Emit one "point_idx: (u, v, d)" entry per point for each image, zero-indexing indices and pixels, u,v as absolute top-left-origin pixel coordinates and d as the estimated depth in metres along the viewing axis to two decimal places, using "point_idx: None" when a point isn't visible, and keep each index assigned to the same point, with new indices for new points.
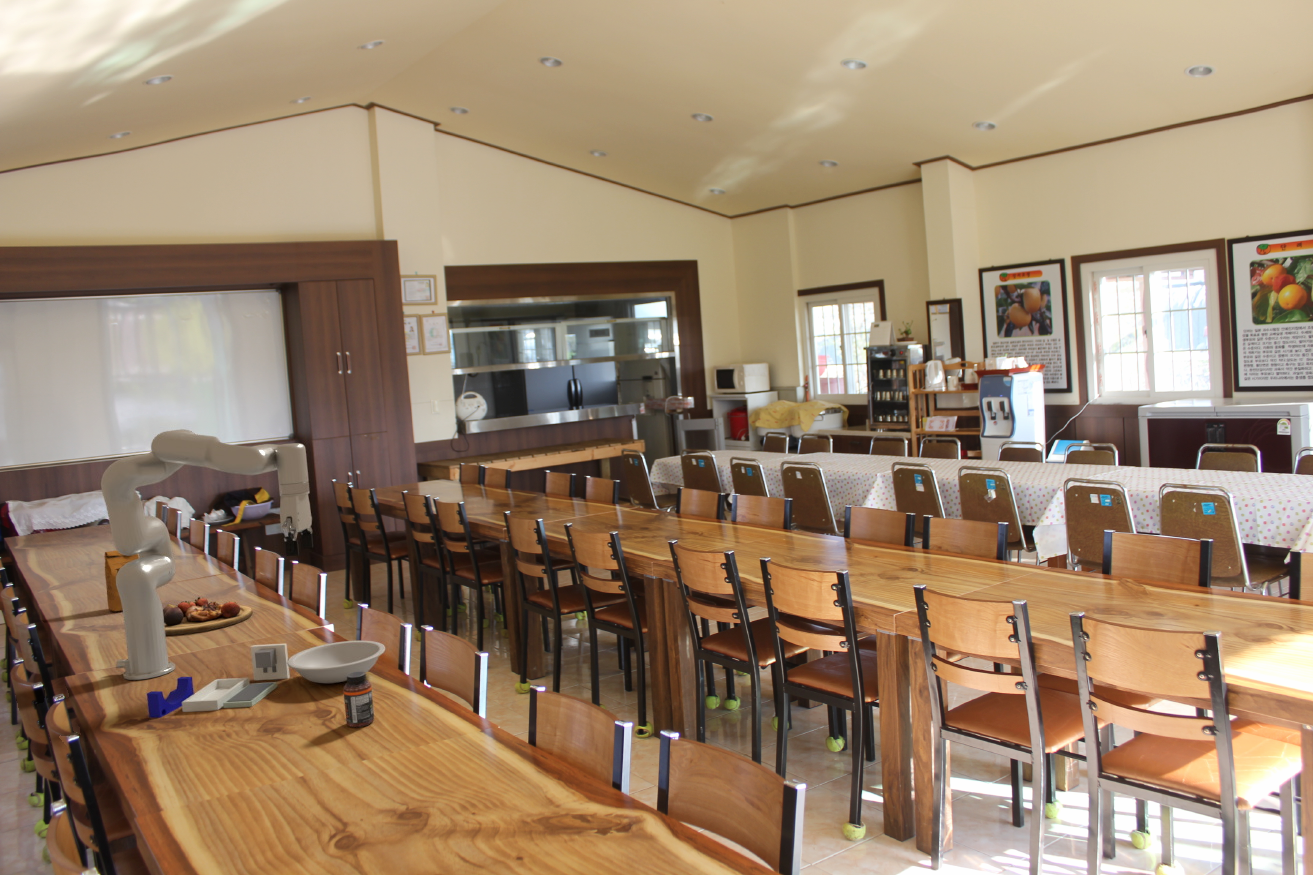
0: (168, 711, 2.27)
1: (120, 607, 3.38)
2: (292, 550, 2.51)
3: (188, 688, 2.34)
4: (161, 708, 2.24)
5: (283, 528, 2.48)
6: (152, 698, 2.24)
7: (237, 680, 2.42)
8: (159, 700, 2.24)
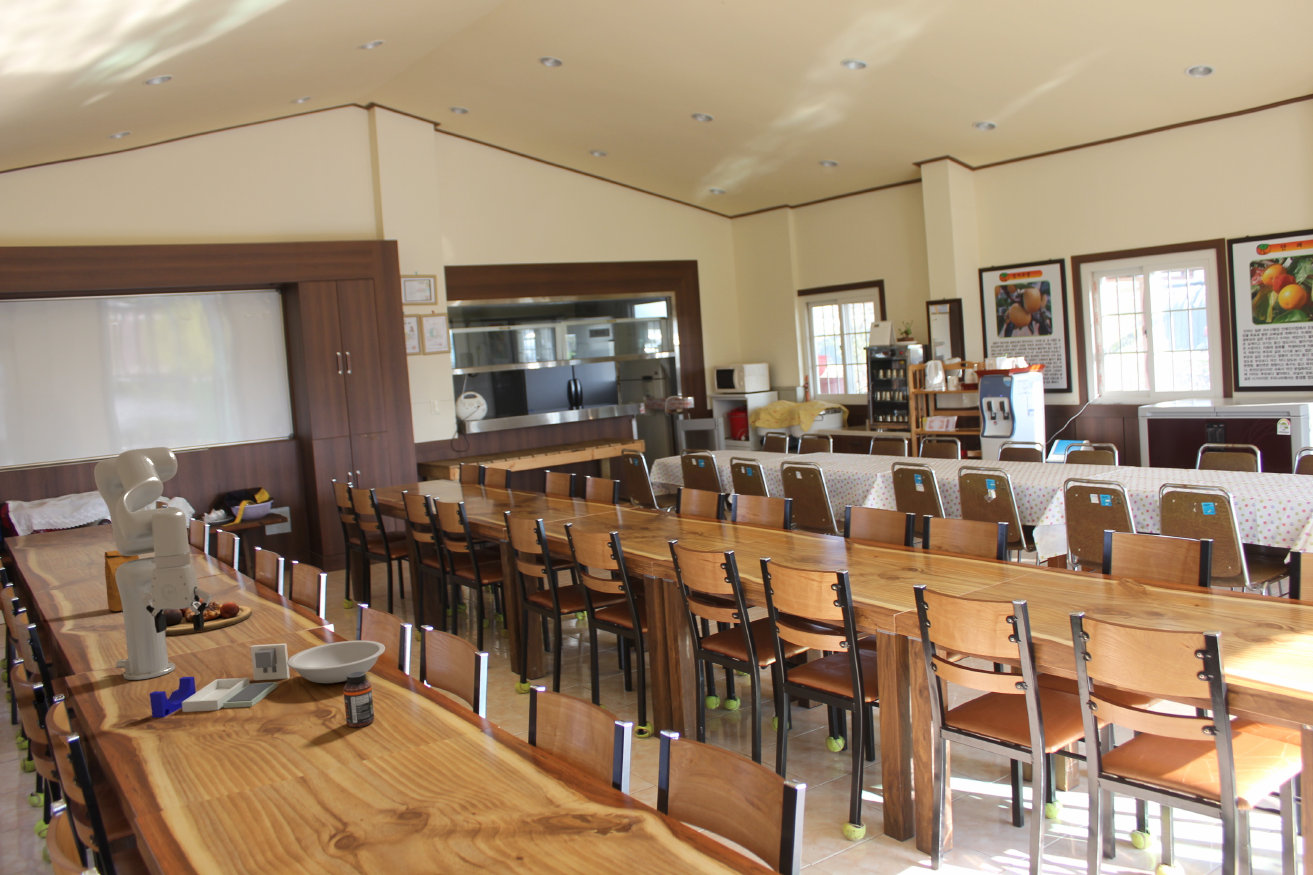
0: (171, 711, 2.26)
1: (120, 607, 3.38)
2: (203, 622, 2.32)
3: (190, 688, 2.34)
4: (164, 708, 2.24)
5: (209, 597, 2.30)
6: (155, 698, 2.24)
7: (237, 680, 2.42)
8: (162, 700, 2.24)
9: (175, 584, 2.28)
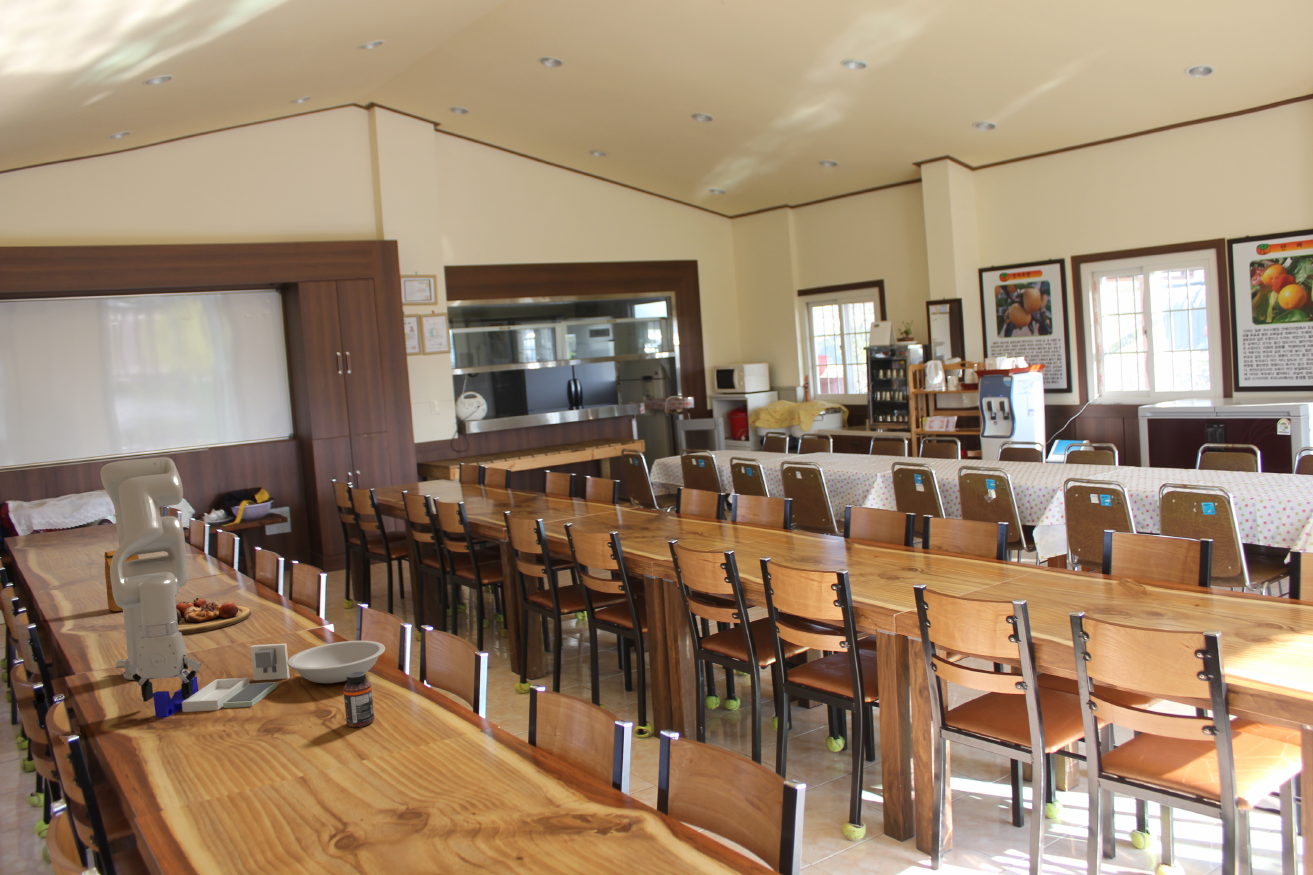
0: (174, 711, 2.26)
1: None
2: (192, 690, 2.30)
3: (193, 688, 2.34)
4: (168, 708, 2.24)
5: (199, 664, 2.29)
6: (159, 698, 2.24)
7: (237, 680, 2.42)
8: (166, 700, 2.24)
9: (164, 653, 2.26)
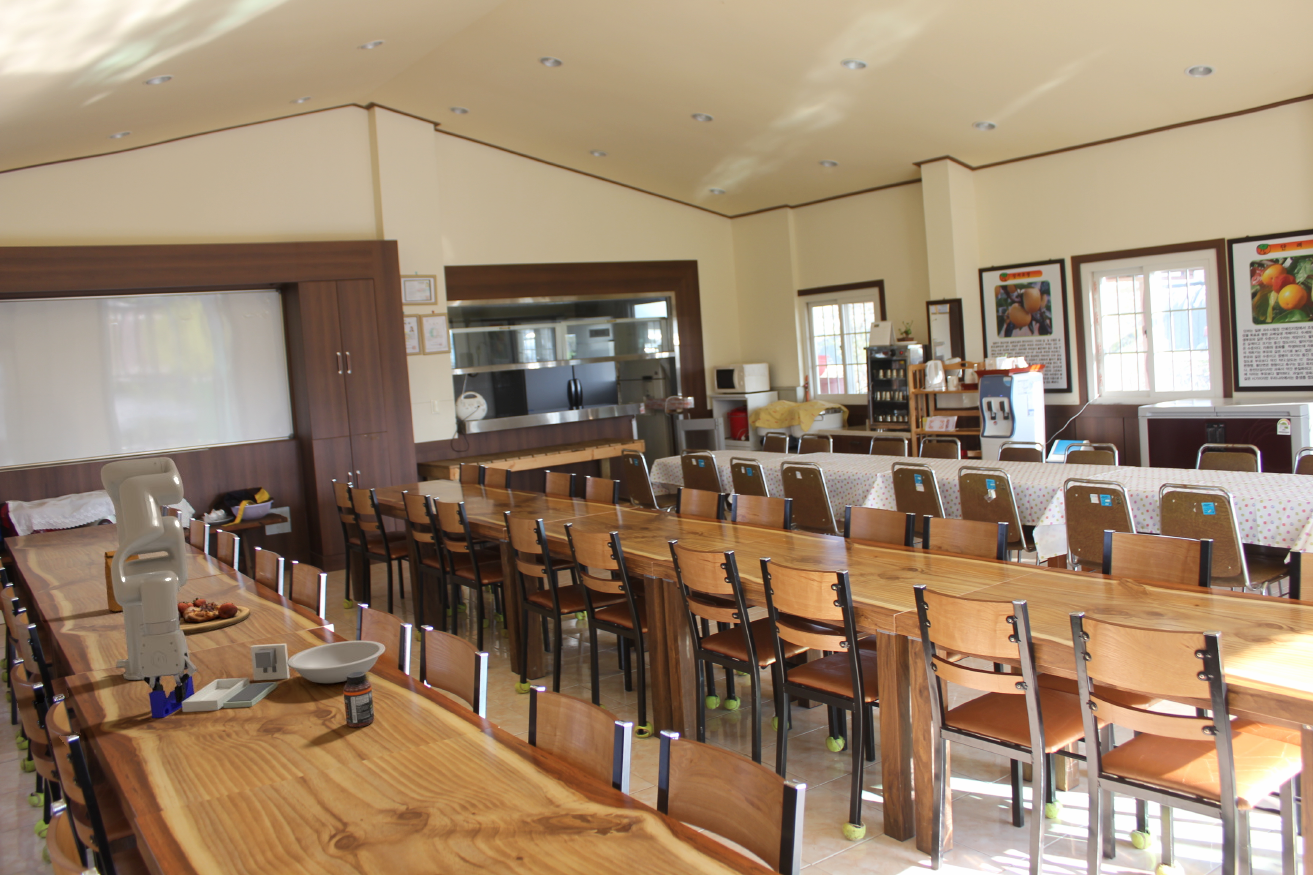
0: (171, 710, 2.26)
1: (120, 607, 3.38)
2: (185, 693, 2.29)
3: (189, 687, 2.33)
4: (164, 707, 2.24)
5: (195, 671, 2.28)
6: (155, 697, 2.23)
7: (237, 680, 2.42)
8: (162, 699, 2.23)
9: (165, 651, 2.26)
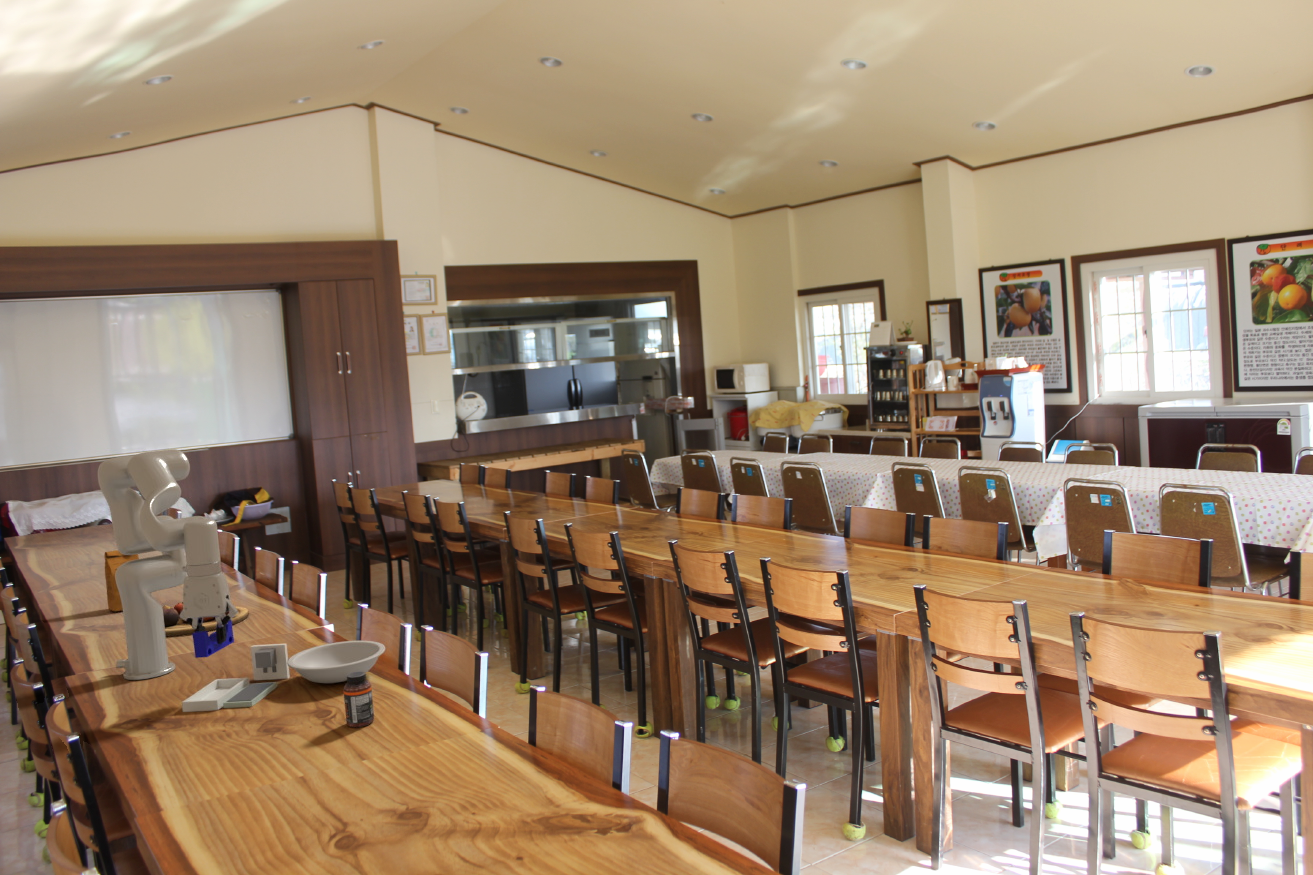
0: (213, 651, 2.31)
1: (120, 607, 3.38)
2: (226, 635, 2.34)
3: (228, 630, 2.38)
4: (207, 647, 2.28)
5: (236, 613, 2.33)
6: (198, 638, 2.28)
7: (237, 680, 2.42)
8: (205, 639, 2.28)
9: (208, 592, 2.30)
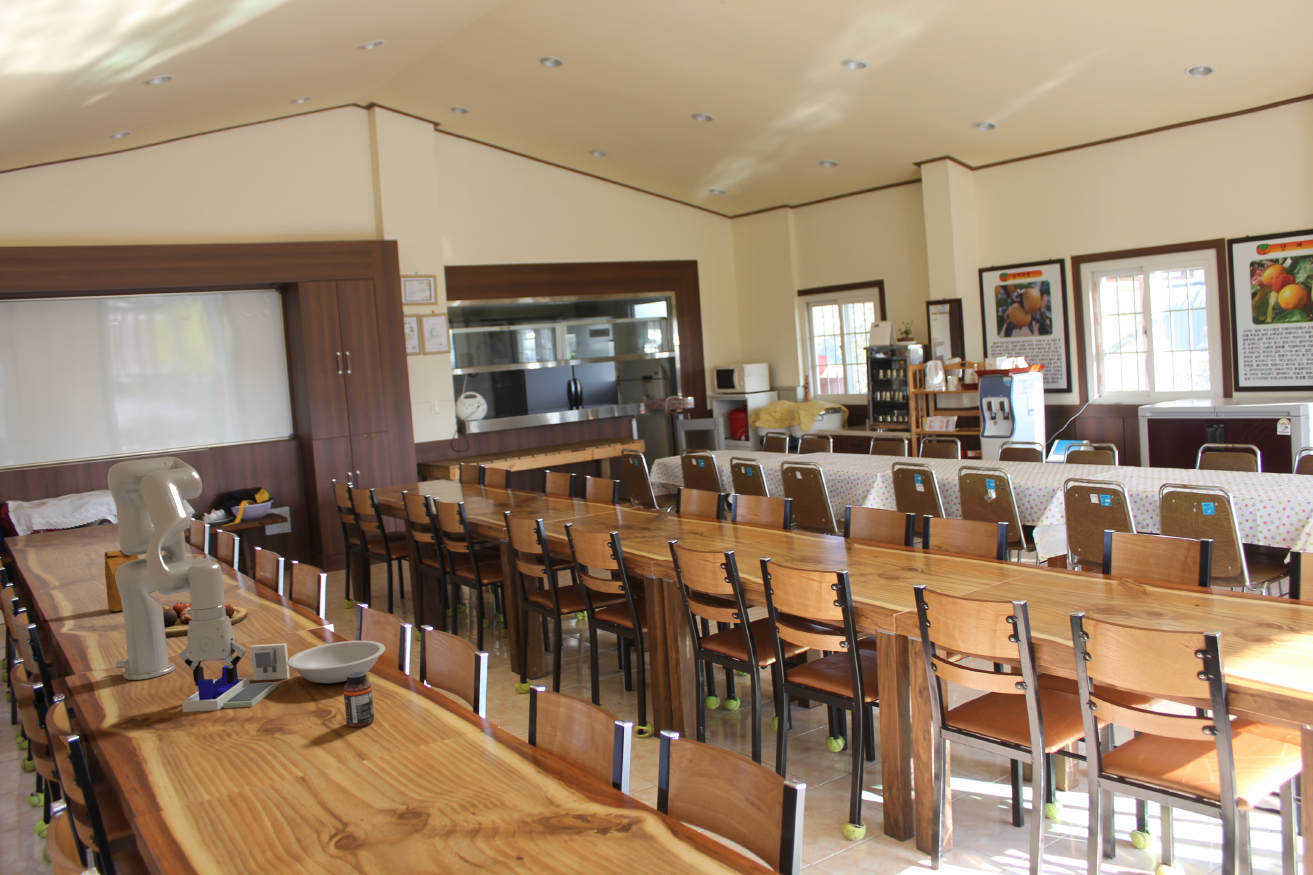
0: None
1: (120, 607, 3.38)
2: (236, 675, 2.35)
3: None
4: (212, 695, 2.30)
5: (244, 651, 2.33)
6: (203, 686, 2.29)
7: None
8: (210, 687, 2.29)
9: (212, 636, 2.31)
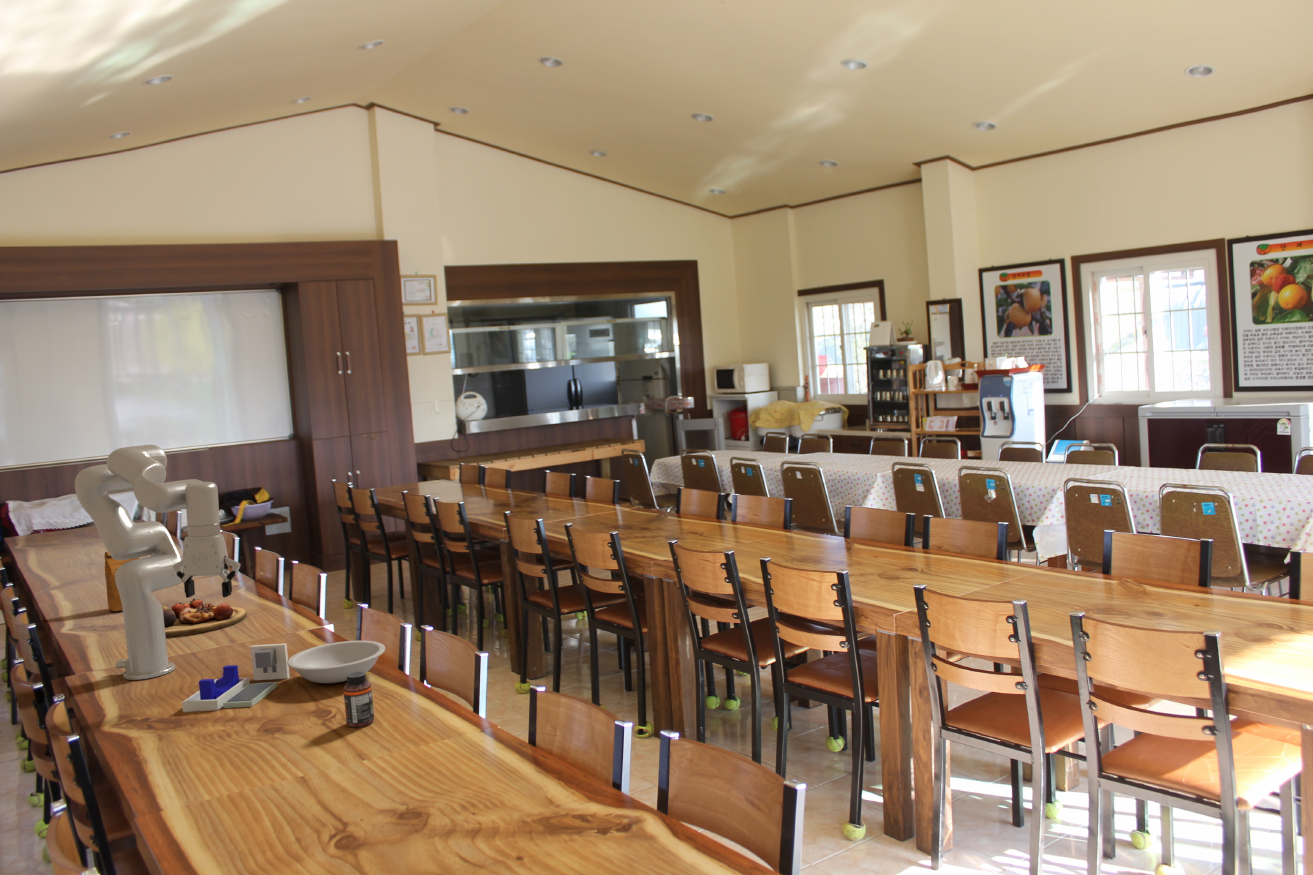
0: None
1: (120, 607, 3.38)
2: (231, 589, 2.44)
3: (234, 676, 2.39)
4: (213, 695, 2.30)
5: (238, 565, 2.42)
6: (204, 685, 2.29)
7: None
8: (211, 687, 2.29)
9: (206, 552, 2.40)
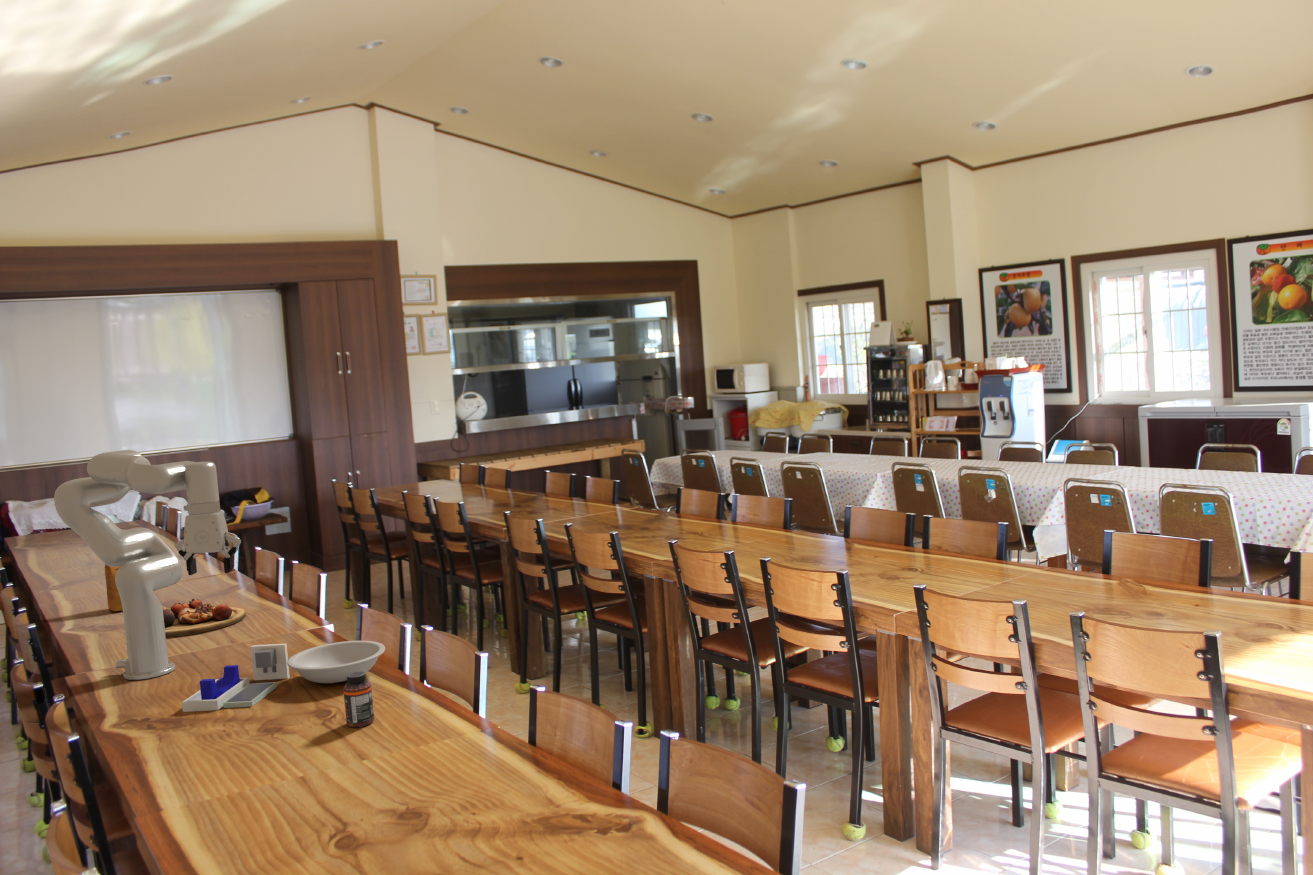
0: None
1: (120, 607, 3.38)
2: (232, 565, 2.50)
3: (235, 676, 2.39)
4: (214, 695, 2.30)
5: (239, 541, 2.49)
6: (205, 685, 2.29)
7: None
8: (212, 687, 2.29)
9: (207, 529, 2.46)
